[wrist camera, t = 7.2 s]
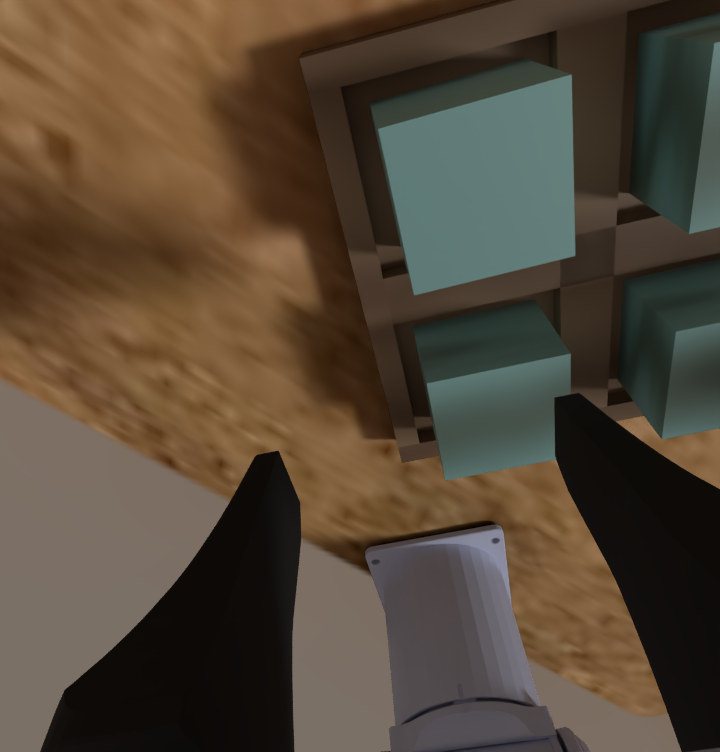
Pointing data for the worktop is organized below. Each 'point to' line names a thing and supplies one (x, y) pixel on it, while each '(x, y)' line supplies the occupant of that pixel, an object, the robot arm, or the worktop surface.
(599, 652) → the worktop surface
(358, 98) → the puzzle tray
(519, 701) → the robot arm
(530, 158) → the teal block
